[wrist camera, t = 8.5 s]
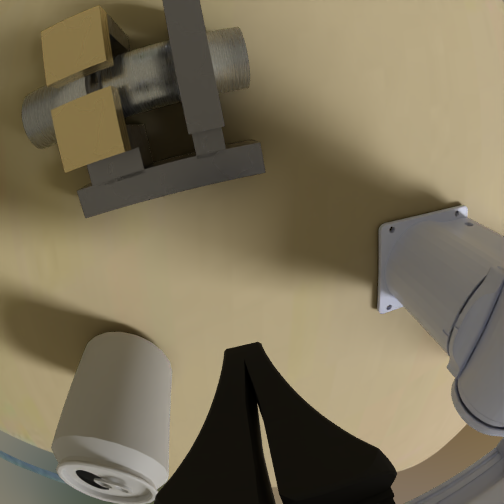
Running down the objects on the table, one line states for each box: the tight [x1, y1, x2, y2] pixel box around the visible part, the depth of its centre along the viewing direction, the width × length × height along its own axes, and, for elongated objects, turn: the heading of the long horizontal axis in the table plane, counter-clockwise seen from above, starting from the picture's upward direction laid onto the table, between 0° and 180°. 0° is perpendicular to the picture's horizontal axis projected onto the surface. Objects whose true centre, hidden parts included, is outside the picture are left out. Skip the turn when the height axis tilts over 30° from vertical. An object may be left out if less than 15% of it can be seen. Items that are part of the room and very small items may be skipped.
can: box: [51, 332, 172, 504], centre depth 17 cm, size 8×8×12 cm
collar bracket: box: [41, 0, 266, 218], centre depth 13 cm, size 10×10×6 cm
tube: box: [22, 27, 250, 149], centre depth 13 cm, size 12×4×4 cm, turn 100°
